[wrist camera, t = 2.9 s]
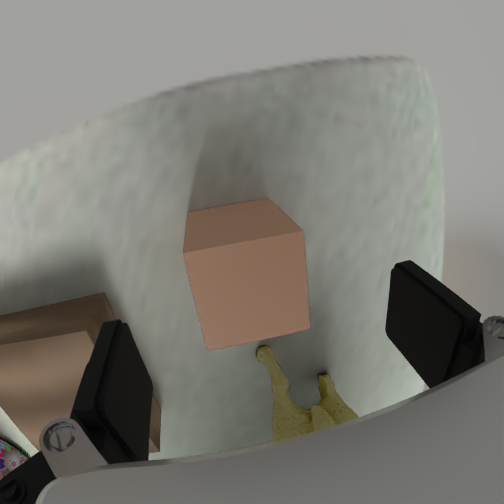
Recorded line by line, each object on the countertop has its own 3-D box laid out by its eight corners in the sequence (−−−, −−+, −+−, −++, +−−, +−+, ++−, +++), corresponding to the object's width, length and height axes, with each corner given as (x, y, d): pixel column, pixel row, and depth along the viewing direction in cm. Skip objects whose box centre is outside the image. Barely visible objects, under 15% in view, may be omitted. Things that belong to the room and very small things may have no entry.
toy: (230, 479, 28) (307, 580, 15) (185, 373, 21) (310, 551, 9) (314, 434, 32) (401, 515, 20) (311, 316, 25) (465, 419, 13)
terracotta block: (276, 270, 22) (309, 329, 15) (202, 285, 21) (207, 350, 15) (268, 197, 20) (303, 230, 13) (187, 212, 19) (183, 253, 13)
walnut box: (161, 407, 25) (159, 451, 20) (54, 416, 24) (41, 454, 19) (105, 290, 20) (86, 330, 16) (-10, 316, 19) (-38, 350, 15)
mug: (-33, 422, 22) (-59, 481, 13) (17, 435, 24) (-6, 506, 14) (9, 473, 27) (-5, 527, 17) (58, 485, 28) (47, 545, 18)
